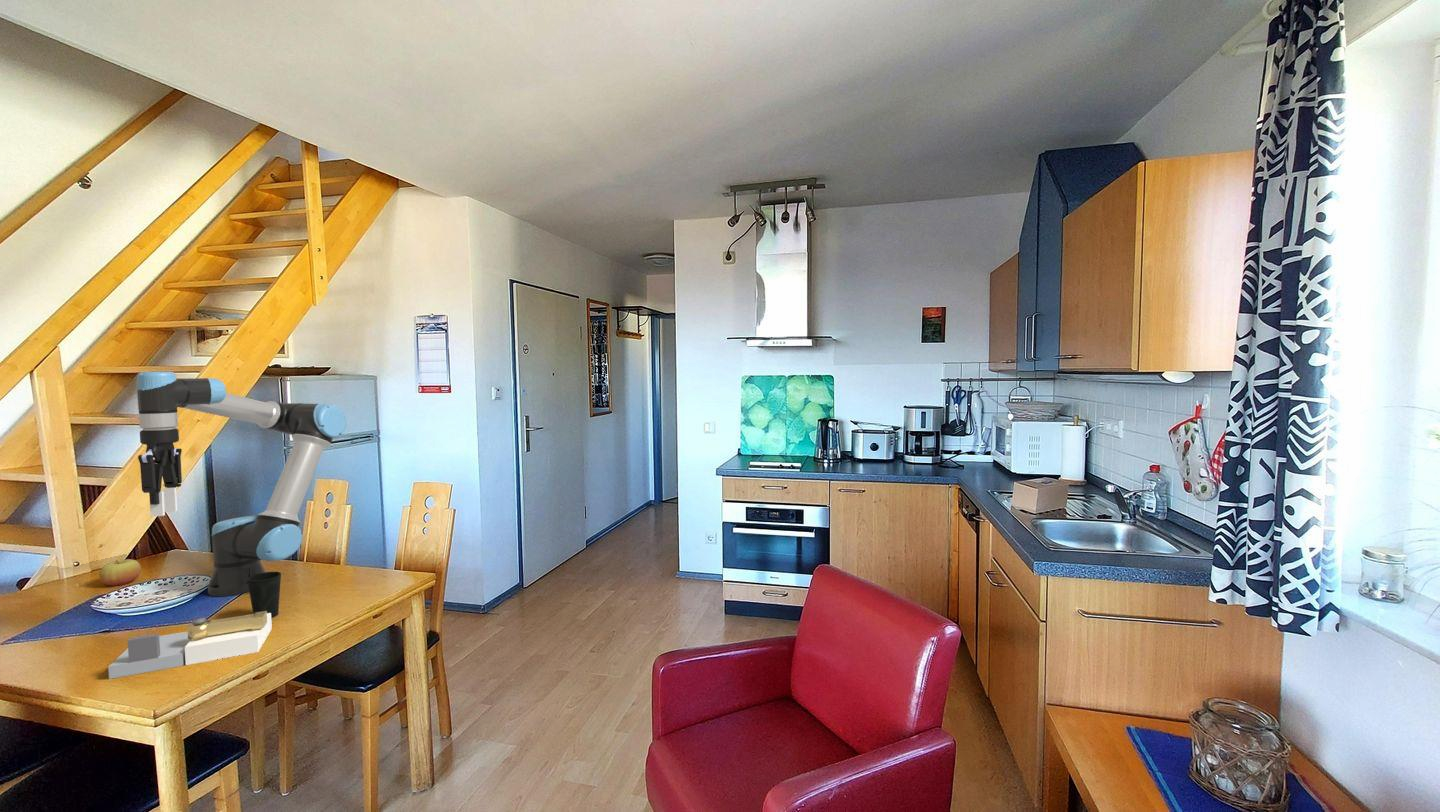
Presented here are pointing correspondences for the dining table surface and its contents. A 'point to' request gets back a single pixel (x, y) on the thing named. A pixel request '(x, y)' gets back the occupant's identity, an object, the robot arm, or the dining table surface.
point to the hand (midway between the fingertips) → (164, 513)
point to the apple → (120, 572)
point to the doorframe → (185, 649)
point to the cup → (265, 592)
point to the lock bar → (227, 625)
